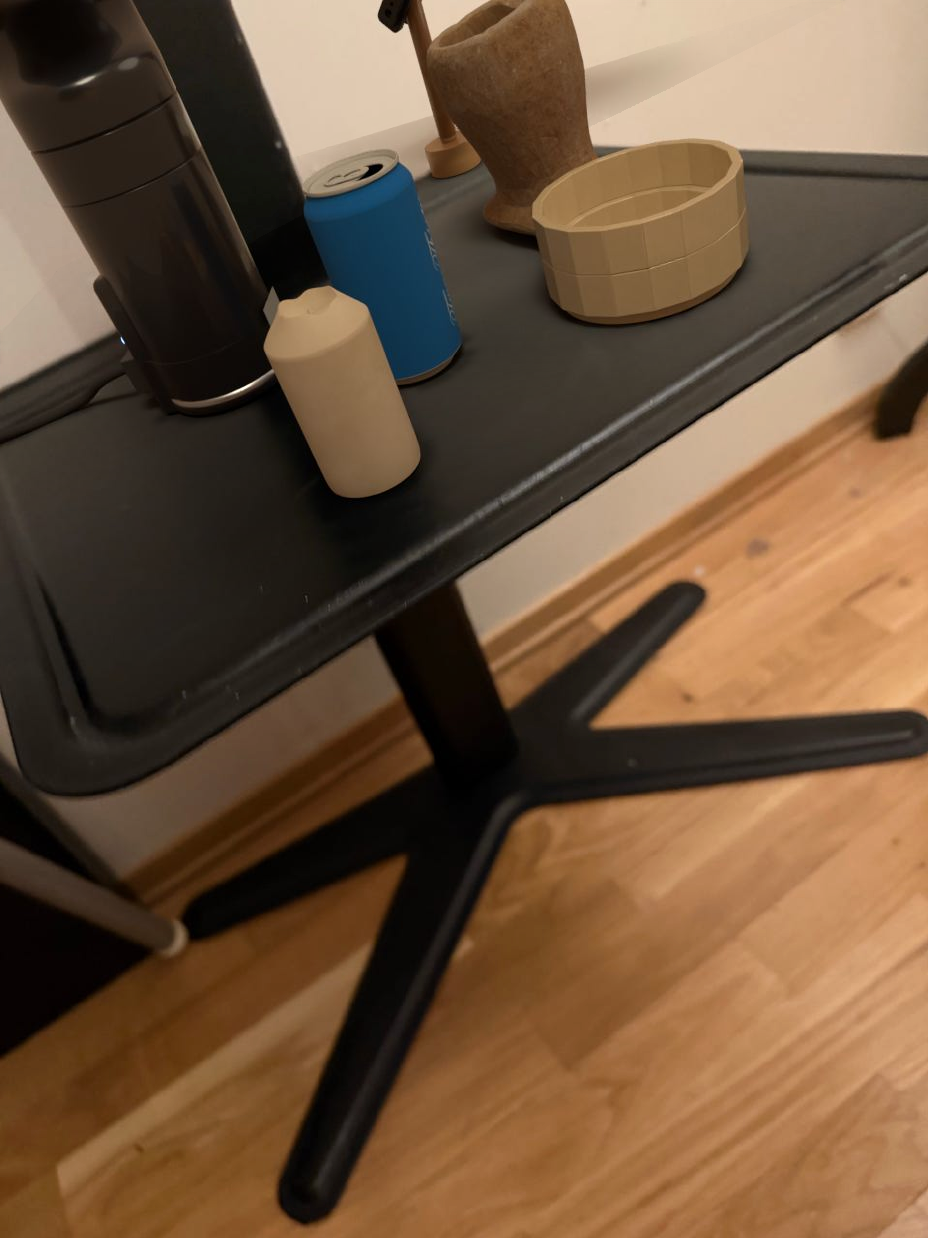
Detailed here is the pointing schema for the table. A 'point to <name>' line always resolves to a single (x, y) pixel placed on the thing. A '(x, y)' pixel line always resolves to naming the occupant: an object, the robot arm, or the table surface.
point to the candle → (342, 392)
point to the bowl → (644, 230)
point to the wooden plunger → (439, 110)
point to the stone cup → (516, 98)
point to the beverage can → (384, 258)
